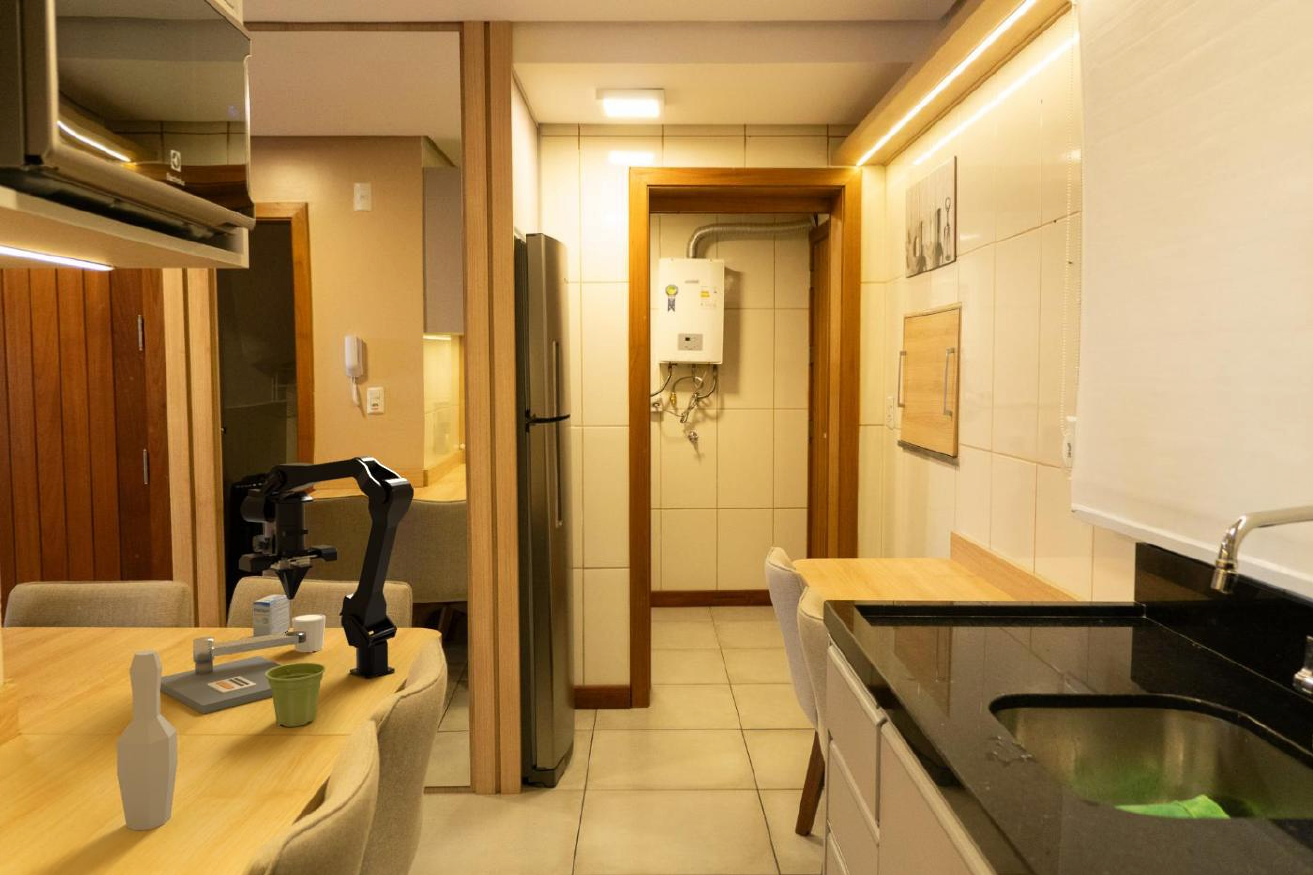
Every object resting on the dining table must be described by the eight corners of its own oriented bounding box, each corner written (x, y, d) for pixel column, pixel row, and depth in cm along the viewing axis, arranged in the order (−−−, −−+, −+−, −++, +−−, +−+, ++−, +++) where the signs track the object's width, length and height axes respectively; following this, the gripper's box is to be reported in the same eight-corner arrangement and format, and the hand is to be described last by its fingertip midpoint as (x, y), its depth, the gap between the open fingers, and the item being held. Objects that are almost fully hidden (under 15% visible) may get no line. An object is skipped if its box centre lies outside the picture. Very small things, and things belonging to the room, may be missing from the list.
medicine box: (272, 630, 207) (272, 594, 206) (290, 631, 206) (289, 594, 206) (252, 639, 199) (252, 601, 198) (271, 640, 198) (270, 602, 198)
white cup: (318, 653, 188) (318, 621, 188) (286, 653, 188) (286, 621, 188) (330, 644, 195) (330, 613, 194) (300, 644, 195) (299, 613, 195)
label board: (312, 685, 167) (312, 667, 167) (203, 714, 152) (202, 694, 151) (258, 663, 181) (258, 646, 181) (153, 686, 166) (153, 668, 166)
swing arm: (195, 664, 167) (195, 643, 167) (191, 659, 170) (191, 638, 170) (308, 646, 180) (308, 626, 179) (303, 642, 183) (303, 622, 183)
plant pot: (266, 715, 151) (266, 665, 151) (325, 708, 155) (324, 659, 154) (264, 734, 143) (263, 681, 142) (326, 726, 146) (326, 675, 146)
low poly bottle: (107, 831, 110) (104, 658, 109) (146, 808, 117) (143, 644, 116) (151, 836, 109) (148, 661, 108) (188, 813, 115) (185, 647, 114)
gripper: (312, 516, 193) (313, 586, 194) (226, 525, 179) (227, 601, 180) (339, 521, 186) (340, 594, 187) (251, 530, 172) (252, 609, 172)
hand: (290, 599), depth 182 cm, fingers closed
